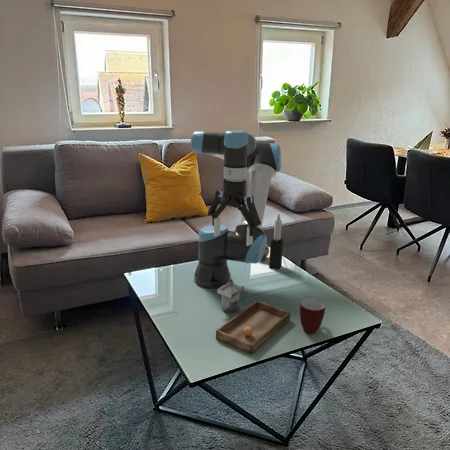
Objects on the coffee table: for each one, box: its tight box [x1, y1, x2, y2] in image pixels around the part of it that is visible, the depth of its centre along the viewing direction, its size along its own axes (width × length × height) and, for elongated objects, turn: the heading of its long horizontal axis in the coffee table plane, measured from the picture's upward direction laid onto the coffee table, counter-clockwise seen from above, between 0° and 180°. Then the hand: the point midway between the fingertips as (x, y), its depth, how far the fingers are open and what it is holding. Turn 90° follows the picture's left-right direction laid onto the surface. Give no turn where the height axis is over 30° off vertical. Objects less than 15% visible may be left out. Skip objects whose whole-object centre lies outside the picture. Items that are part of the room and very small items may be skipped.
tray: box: [215, 300, 291, 356], centre depth 138 cm, size 14×25×3 cm, turn 144°
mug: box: [299, 297, 326, 335], centre depth 138 cm, size 11×8×10 cm
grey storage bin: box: [216, 281, 245, 314], centre depth 150 cm, size 6×8×8 cm
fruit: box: [261, 243, 270, 260], centre depth 193 cm, size 8×8×8 cm
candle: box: [268, 213, 284, 271], centre depth 182 cm, size 5×5×25 cm
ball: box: [243, 327, 252, 336], centre depth 134 cm, size 3×3×3 cm
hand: (232, 239), depth 142 cm, fingers open, 13 cm apart
